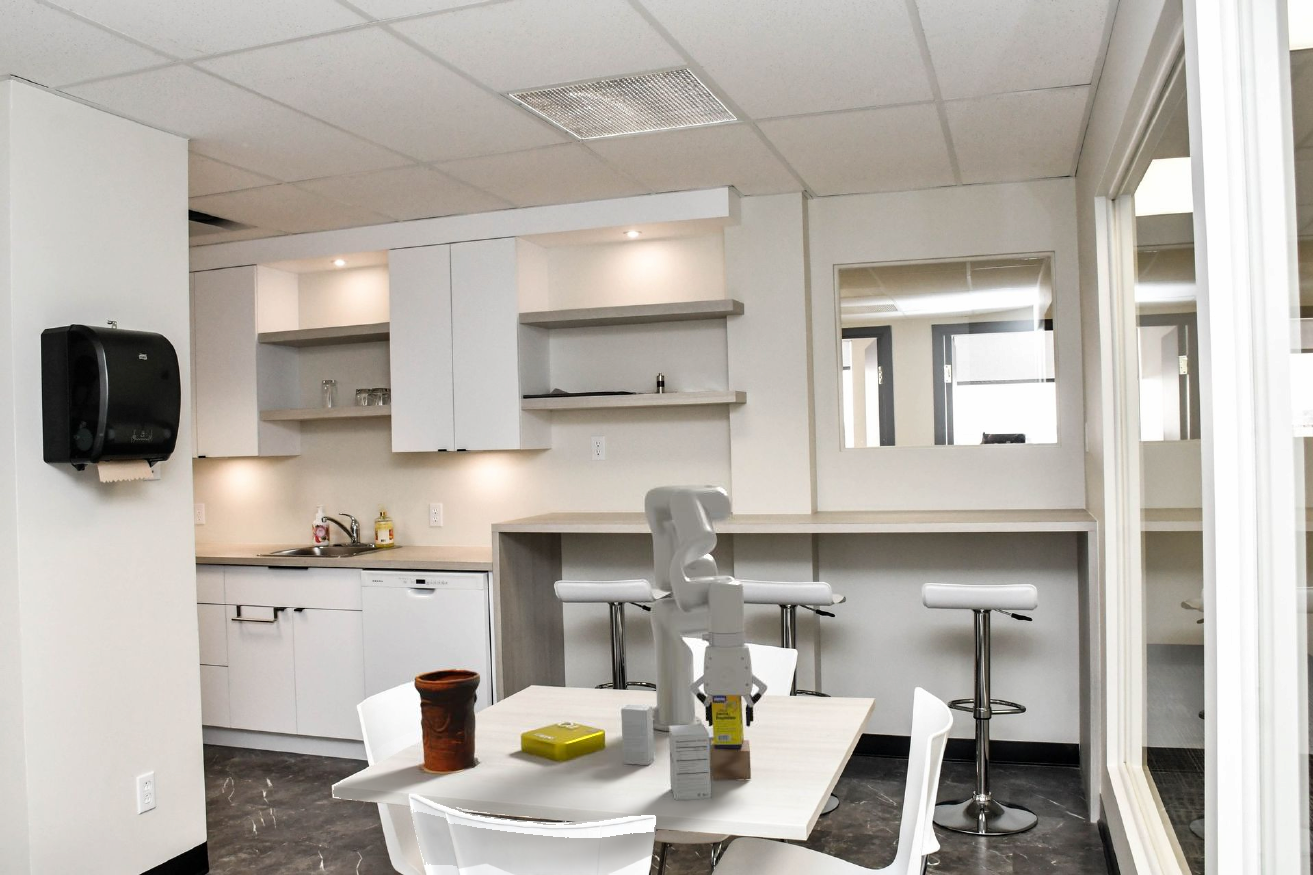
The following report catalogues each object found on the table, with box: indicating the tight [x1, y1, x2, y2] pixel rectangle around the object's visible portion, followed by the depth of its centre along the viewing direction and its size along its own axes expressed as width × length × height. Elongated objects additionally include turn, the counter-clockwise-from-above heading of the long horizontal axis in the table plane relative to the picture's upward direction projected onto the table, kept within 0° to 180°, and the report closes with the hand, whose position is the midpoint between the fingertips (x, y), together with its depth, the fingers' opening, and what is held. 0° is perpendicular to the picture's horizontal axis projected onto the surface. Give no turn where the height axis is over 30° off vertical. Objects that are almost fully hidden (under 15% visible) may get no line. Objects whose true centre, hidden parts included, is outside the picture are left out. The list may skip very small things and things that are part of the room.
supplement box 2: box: [711, 696, 745, 748], centre depth 209 cm, size 6×6×11 cm
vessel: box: [413, 668, 481, 775], centre depth 222 cm, size 14×14×20 cm
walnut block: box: [710, 739, 752, 781], centre depth 209 cm, size 8×8×6 cm
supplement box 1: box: [668, 723, 712, 801], centre depth 197 cm, size 7×7×13 cm
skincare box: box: [620, 704, 655, 766], centre depth 219 cm, size 6×4×12 cm
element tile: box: [520, 721, 606, 763], centre depth 231 cm, size 15×15×5 cm
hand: (729, 724), depth 209 cm, fingers open, 7 cm apart
